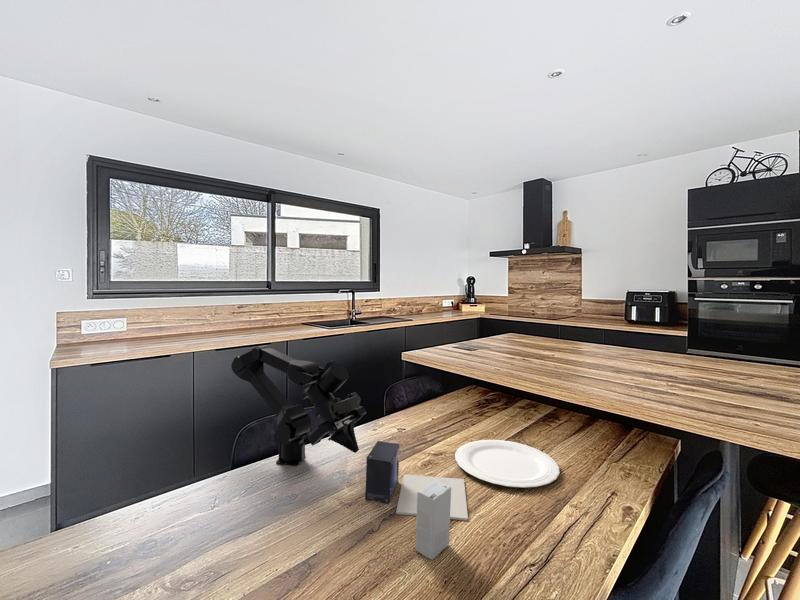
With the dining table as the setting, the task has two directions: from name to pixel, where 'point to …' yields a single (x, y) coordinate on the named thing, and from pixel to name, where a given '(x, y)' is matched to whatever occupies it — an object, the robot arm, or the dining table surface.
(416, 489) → the mat
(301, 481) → the dining table surface
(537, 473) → the plate
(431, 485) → the skincare box
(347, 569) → the dining table surface
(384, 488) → the small box
